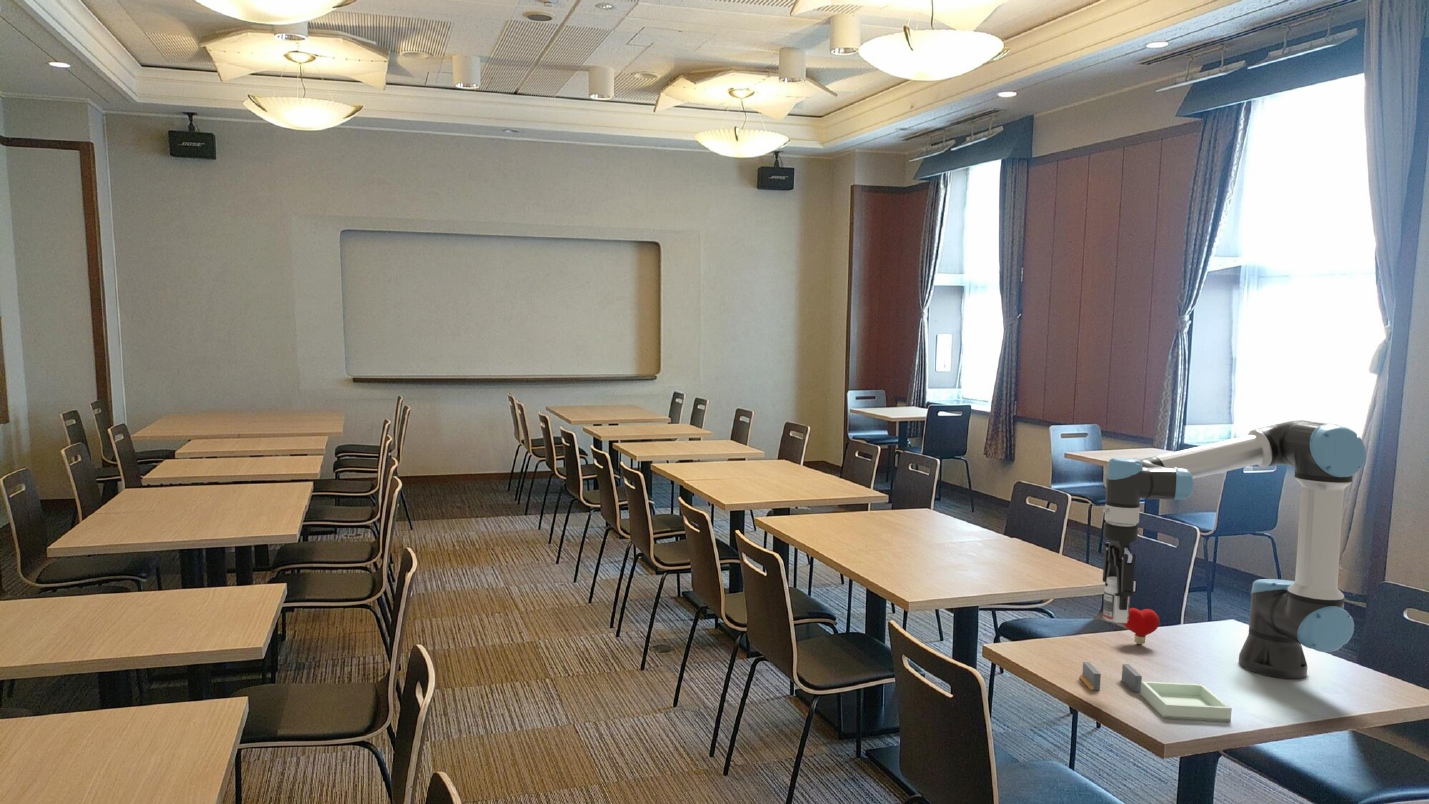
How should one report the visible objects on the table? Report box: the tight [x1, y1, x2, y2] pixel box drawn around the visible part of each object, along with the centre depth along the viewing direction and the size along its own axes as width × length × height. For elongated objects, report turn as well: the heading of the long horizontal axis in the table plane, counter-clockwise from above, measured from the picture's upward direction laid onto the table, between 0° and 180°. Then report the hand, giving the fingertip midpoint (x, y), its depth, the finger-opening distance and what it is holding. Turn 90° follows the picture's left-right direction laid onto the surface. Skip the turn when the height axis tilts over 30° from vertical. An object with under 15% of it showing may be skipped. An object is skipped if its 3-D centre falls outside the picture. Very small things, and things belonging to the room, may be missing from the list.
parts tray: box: [1140, 681, 1232, 723], centre depth 211 cm, size 14×14×3 cm
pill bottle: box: [1102, 577, 1131, 623], centre depth 222 cm, size 6×6×10 cm
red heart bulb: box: [1123, 607, 1160, 646], centre depth 254 cm, size 9×7×10 cm
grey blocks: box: [1079, 661, 1143, 693], centre depth 223 cm, size 12×8×4 cm, turn 86°
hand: (1115, 618), depth 222 cm, fingers closed on pill bottle, 6 cm apart
